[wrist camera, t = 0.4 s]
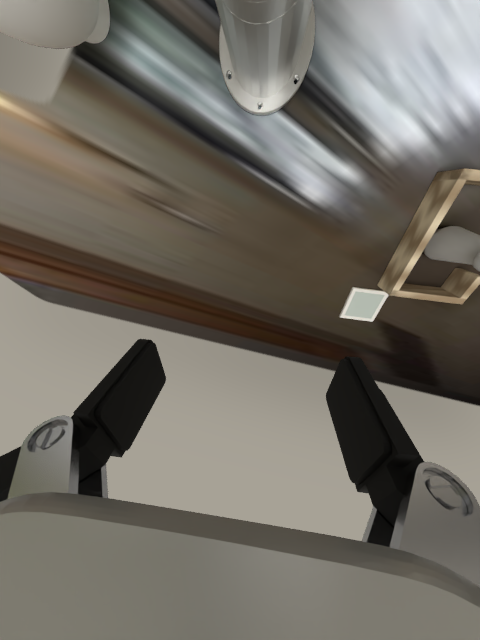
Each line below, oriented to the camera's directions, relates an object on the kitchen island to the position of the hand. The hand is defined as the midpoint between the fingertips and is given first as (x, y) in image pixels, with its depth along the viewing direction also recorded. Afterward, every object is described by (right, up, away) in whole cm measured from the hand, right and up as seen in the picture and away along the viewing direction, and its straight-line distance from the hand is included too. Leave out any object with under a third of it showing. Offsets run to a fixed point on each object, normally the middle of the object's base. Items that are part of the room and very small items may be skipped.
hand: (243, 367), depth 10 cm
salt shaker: (+37, +18, +26) cm, 49 cm away
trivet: (+29, +6, +35) cm, 46 cm away
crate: (+38, +17, +26) cm, 50 cm away
